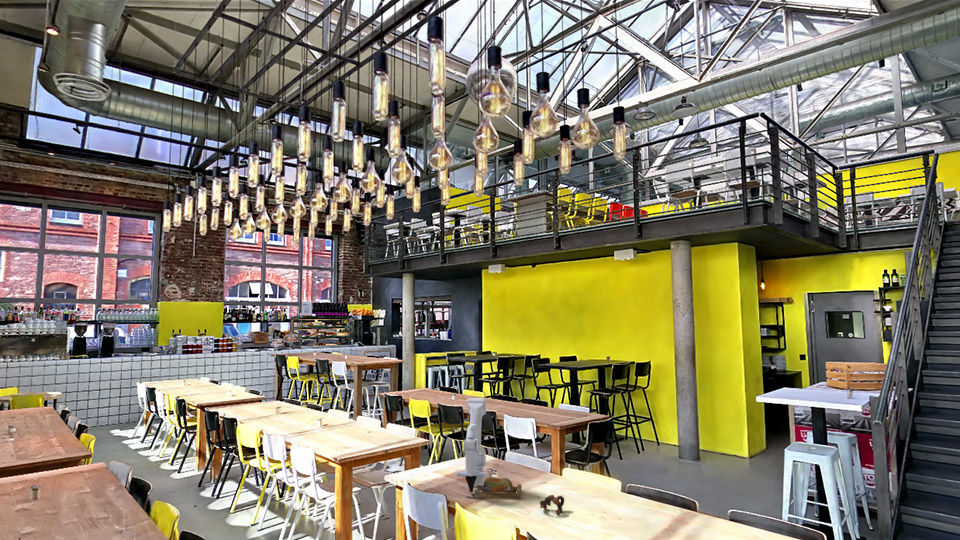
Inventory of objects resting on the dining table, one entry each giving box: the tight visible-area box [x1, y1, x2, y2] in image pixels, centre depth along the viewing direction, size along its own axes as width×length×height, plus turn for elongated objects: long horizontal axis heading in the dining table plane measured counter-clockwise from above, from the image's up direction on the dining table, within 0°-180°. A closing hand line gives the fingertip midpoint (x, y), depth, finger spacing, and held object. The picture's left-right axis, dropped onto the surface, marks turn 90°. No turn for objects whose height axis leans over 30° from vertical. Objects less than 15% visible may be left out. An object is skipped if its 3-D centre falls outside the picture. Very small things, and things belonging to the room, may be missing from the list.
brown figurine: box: [539, 494, 565, 517], centre depth 235 cm, size 12×10×8 cm
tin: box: [483, 476, 514, 492], centre depth 258 cm, size 15×3×8 cm, turn 65°
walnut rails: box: [474, 483, 523, 500], centre depth 258 cm, size 11×22×4 cm, turn 83°
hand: (471, 491), depth 259 cm, fingers closed
